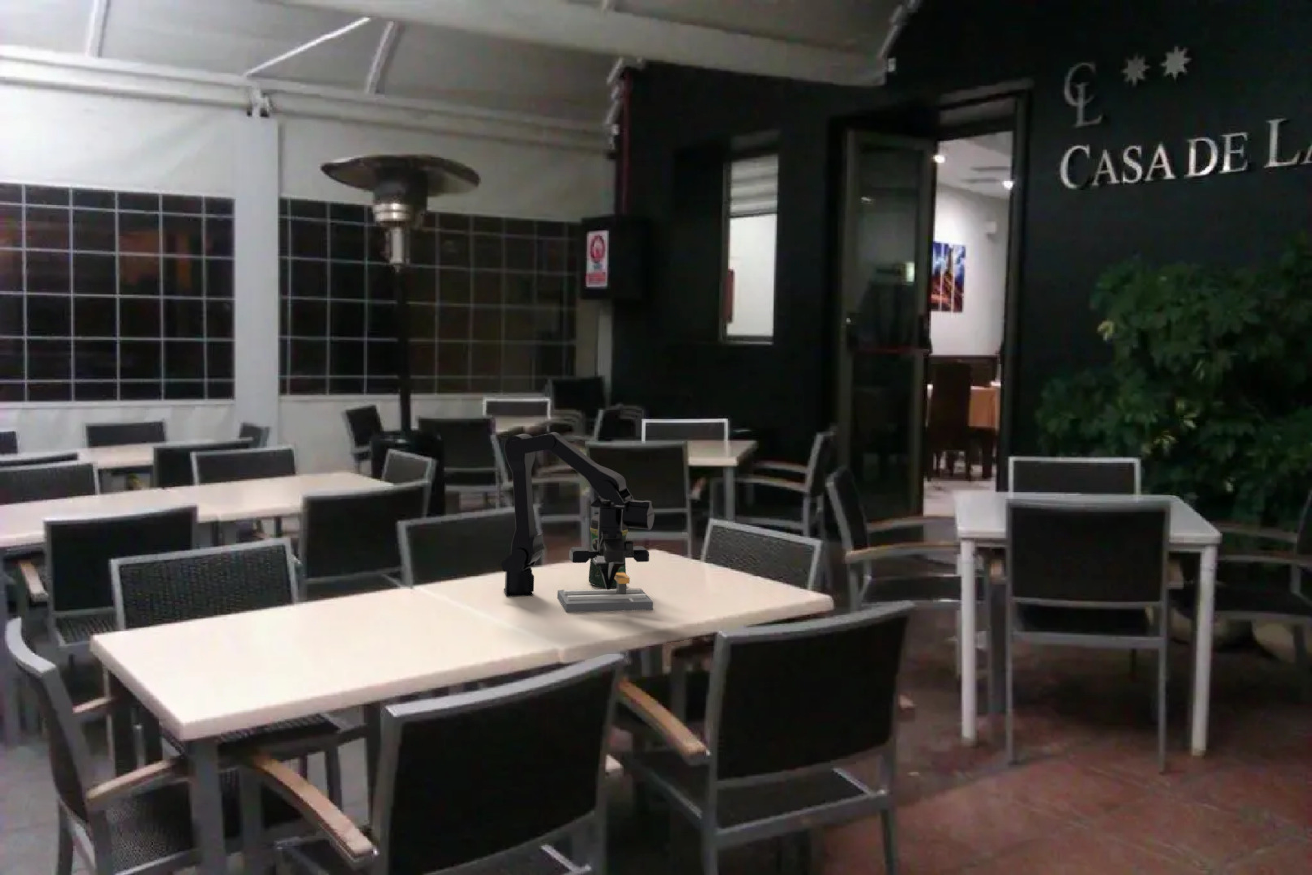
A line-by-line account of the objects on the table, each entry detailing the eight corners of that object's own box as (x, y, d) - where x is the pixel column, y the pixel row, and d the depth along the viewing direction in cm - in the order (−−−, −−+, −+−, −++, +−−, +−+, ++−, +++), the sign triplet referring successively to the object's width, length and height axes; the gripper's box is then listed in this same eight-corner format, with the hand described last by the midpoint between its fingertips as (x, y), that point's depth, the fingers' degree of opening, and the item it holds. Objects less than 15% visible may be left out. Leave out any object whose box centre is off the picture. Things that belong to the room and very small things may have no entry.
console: (566, 612, 263) (566, 600, 263) (557, 598, 276) (557, 587, 276) (652, 609, 269) (653, 598, 268) (640, 596, 281) (640, 585, 281)
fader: (618, 598, 270) (619, 578, 269) (613, 592, 275) (614, 572, 275) (628, 597, 271) (629, 577, 270) (623, 592, 276) (624, 572, 275)
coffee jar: (631, 586, 291) (633, 515, 289) (608, 590, 285) (611, 518, 283) (605, 579, 298) (607, 510, 296) (583, 583, 292) (585, 513, 290)
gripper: (577, 532, 260) (575, 598, 262) (655, 532, 265) (653, 596, 266) (569, 523, 271) (567, 587, 273) (644, 523, 275) (642, 585, 277)
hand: (608, 589), depth 272 cm, fingers closed
